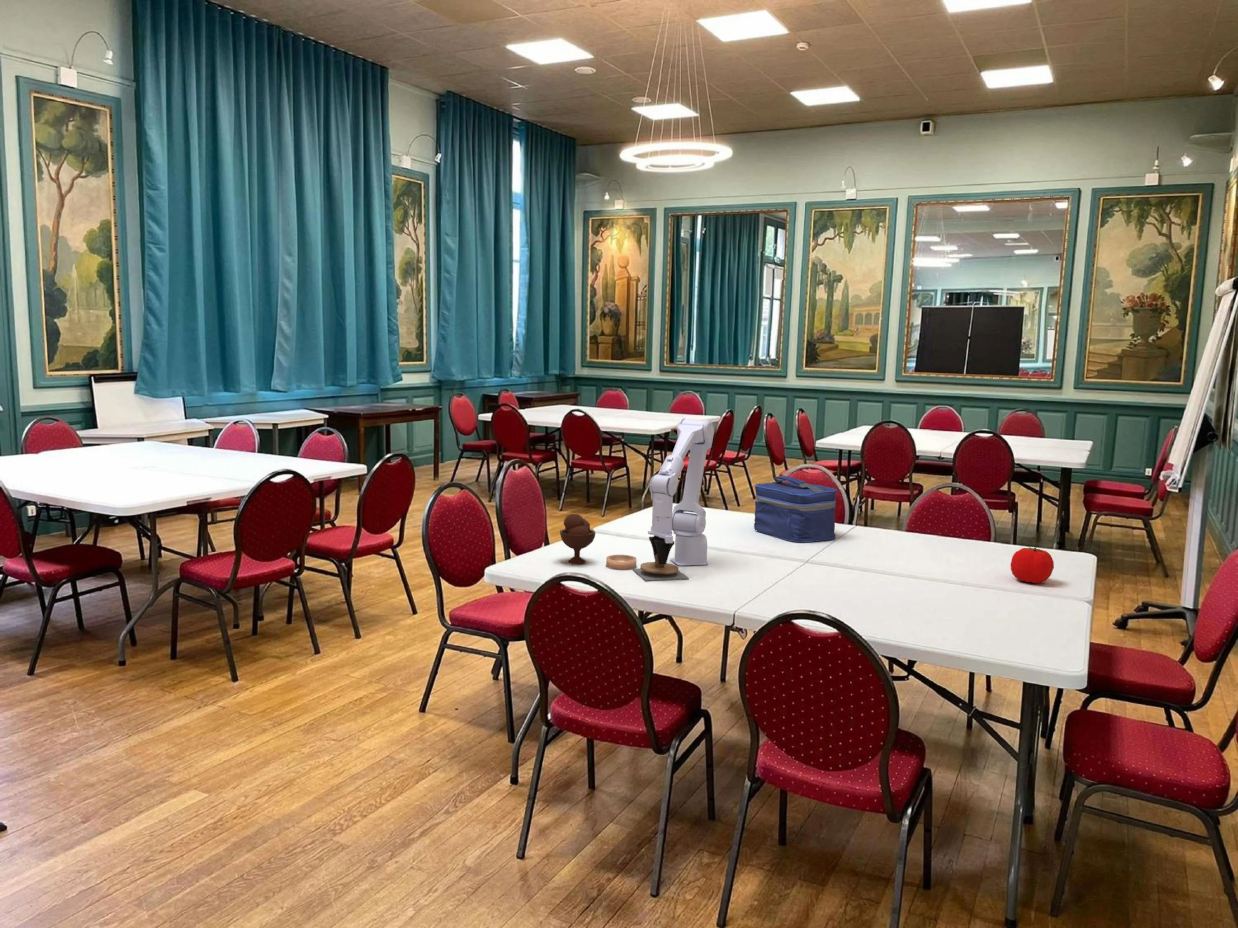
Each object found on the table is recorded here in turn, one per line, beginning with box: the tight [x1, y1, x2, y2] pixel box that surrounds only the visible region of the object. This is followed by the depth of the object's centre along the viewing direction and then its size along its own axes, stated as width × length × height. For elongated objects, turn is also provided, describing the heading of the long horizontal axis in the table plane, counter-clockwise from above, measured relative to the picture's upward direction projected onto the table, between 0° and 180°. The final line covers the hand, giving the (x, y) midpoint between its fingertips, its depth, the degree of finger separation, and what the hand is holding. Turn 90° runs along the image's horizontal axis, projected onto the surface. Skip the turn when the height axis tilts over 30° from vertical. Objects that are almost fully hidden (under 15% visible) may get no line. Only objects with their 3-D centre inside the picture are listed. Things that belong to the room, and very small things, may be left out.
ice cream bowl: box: [559, 513, 596, 566], centre depth 275 cm, size 11×11×15 cm
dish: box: [605, 554, 637, 571], centre depth 273 cm, size 9×9×2 cm
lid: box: [639, 554, 679, 574], centre depth 264 cm, size 11×11×4 cm
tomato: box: [1010, 545, 1055, 584], centre depth 268 cm, size 12×12×10 cm
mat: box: [631, 567, 690, 582], centre depth 264 cm, size 13×13×1 cm
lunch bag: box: [753, 475, 837, 543], centre depth 327 cm, size 31×21×20 cm
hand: (660, 562), depth 264 cm, fingers closed on lid, 3 cm apart
